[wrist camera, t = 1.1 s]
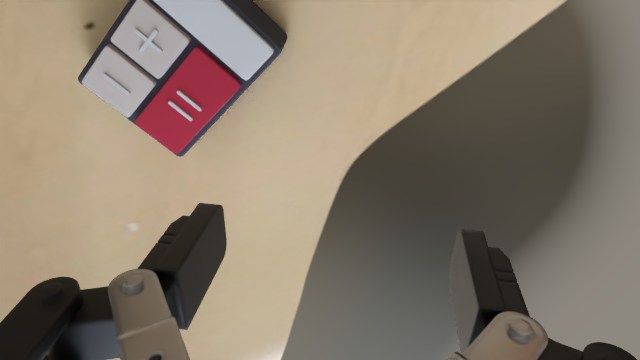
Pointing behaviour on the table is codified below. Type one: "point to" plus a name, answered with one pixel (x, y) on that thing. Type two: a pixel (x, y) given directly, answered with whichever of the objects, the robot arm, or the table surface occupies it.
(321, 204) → the table surface
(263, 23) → the calculator
